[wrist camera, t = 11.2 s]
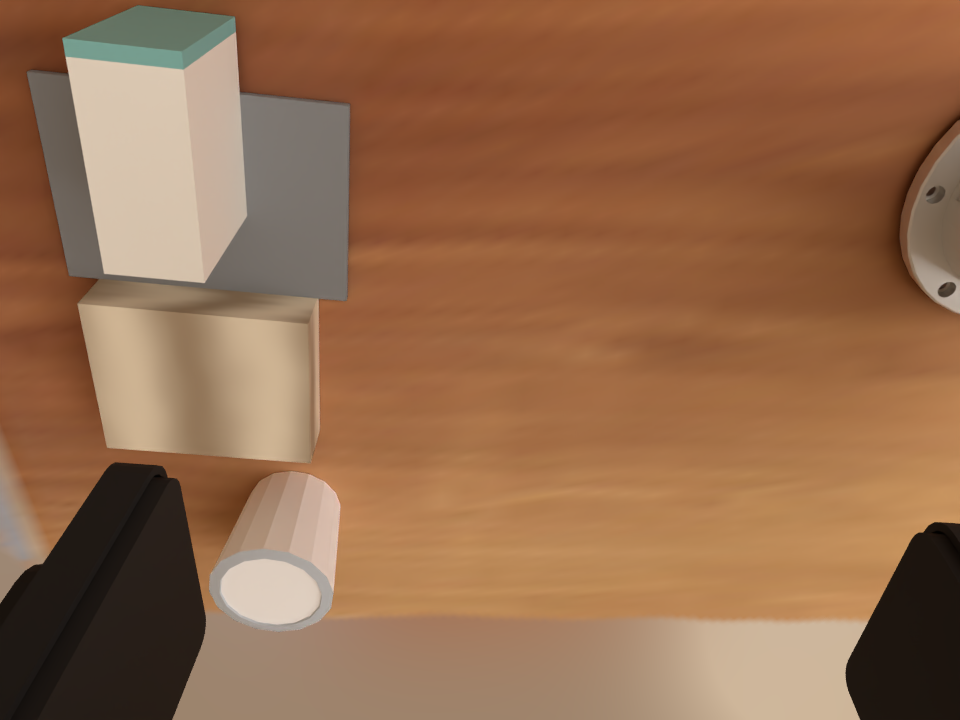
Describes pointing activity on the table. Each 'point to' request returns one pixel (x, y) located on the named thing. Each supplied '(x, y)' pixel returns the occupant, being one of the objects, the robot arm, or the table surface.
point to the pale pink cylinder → (280, 555)
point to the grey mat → (268, 183)
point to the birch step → (204, 370)
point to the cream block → (160, 139)
